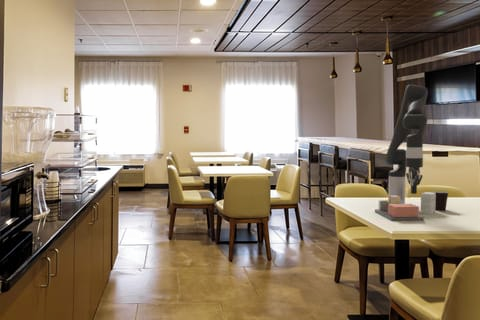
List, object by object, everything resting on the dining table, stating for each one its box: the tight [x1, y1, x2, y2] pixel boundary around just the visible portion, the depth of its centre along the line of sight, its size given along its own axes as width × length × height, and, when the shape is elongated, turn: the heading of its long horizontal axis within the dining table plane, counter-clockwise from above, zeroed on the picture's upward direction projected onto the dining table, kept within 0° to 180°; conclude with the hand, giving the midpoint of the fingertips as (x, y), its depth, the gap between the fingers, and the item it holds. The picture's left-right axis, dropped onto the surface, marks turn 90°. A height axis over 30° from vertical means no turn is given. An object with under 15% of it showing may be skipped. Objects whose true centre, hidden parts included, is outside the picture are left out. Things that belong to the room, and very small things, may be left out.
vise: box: [374, 199, 425, 222], centre depth 225 cm, size 24×16×6 cm
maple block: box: [387, 195, 400, 204], centre depth 230 cm, size 5×4×8 cm
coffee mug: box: [431, 190, 449, 212], centre depth 243 cm, size 12×9×10 cm
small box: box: [420, 191, 436, 215], centre depth 235 cm, size 8×6×10 cm
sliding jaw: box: [388, 203, 420, 217], centre depth 219 cm, size 9×12×5 cm
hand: (413, 193), depth 206 cm, fingers closed
